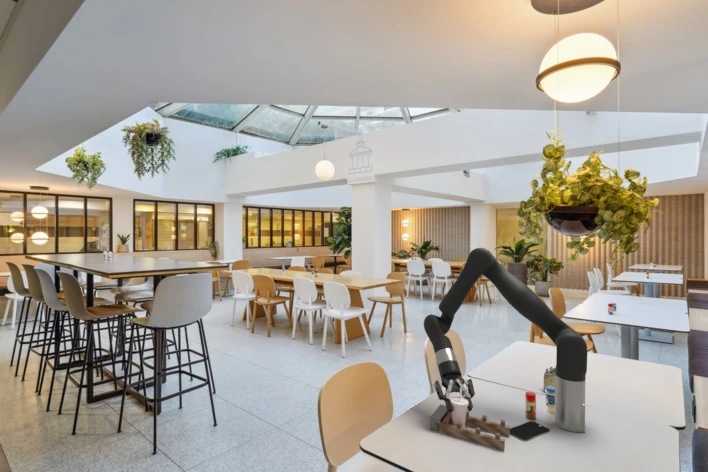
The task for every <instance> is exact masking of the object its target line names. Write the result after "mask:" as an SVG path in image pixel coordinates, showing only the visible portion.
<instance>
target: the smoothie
mask: <svg viewBox="0 0 708 472" xmlns="http://www.w3.org/2000/svg"><path fill="white" fill-rule="evenodd" d="M449 399H450V400H451V403H452V407H453V411H452V412H451V413H452V422H453V423H452V425H455V426H457V423H458V422H460V423H462V428H465V427H466V426H465V420H466V413H467V411H468V408H467V406H468V405H469V402H468V400H467V399H465V398H464V397H463V396H462V388H460V393H459V396H450V397H449ZM465 429H466V428H465Z"/></svg>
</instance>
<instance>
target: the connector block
mask: <svg viewBox="0 0 708 472" xmlns="http://www.w3.org/2000/svg"><path fill="white" fill-rule="evenodd" d="M448 412H449V411H448V410H447V407H446V404H440V405H439V406H438V407H437V408H436V409H435V411H433V413H432V414H431V415H430V417H429V419H430V420H429V421H430V422H429V430H430V431H433V432H436V431H435V427H436V426H437V425H440V423H441V422H442V420H443V419H444V418H445V416H446V415H447V414H448ZM435 423H436V426H435ZM437 423H438V424H437ZM437 428H438V427H437ZM438 429H439V428H438ZM438 431H439V430H438ZM438 433H440V432H438Z"/></svg>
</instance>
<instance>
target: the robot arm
mask: <svg viewBox="0 0 708 472" xmlns="http://www.w3.org/2000/svg"><path fill="white" fill-rule="evenodd" d="M482 276H483V277H485V278H487V280H489V281H490V282H491V283H492V284H493V286H494V287H495V288H496V290H498V292H499V293H500V295H501V296H502V297H503V299H504V300H505V301H507V303H508V304H509V305H510V306H511V307H512V308H514V309H515V311H517V312H518V313H519V314H520V315H521V316H522V317H524V318H525V319H527V320H528V322H531V323H532V324H534V325H535V326H537V327H538V328H539V329H540V330H542V331H543V332H544V333H545V334H546V335H547V337H548V338H549V339H550V340H551V342H553V343H554V346H556V357H555V358H556V363H555V367H554V368H555V392H554V424H555V425H556V426H557V427H558V428H560V429H562V430H565V431H567V432H568V431H569V432H574V433H586V375H587V372H588V371H587V370H588V344H587V342H586V341H585V339H584V336H582V334H580V333H579V332H578V331H576V330H575V329H574V328H573V327H571V326H570V325H568V324H567V323H566V322H564V321H563V320H562V319H560V318H559V317H558V316H557V315H556V314H555V312H553V311H552V310H551V308H550V307H549V306H548V305H547V304H546V303H545V302H544V301H543V300H542V298H541V297H540V296H539V295H537V293H535V291H533V290H532V289H531V288H530V287H529V286H528V285H527V284H525V283H524V282H523V281H522V280H520V279H519V278H518V277H516V276H515V275H513V273H512V272H510V271H509V270H507V269H506V268H505V267H504V266H503V265H502V263H501V262H499V261H498V260H497V258H496V257H495V256H494V255H493V253H492V252H491V251H490V250H489V249H486V248H485V247H476V248H474V249H473V250H471V251H470V252H469V254H468V256H467V259H466V261H465V263H464V266H463V269H462V270H461V272H460V274H459V276H458V277H457V278H456V280H455V282H453V284H452V285H451V287H450V288H449V290H448V291H447V292H446V294H445V295H444V297H443V298H442V300H441V301H440V303H438V304H439V305H438V309H439V311H440V312H441V314H440V316H438V315H435V314H428V315H426V317H425V318H424V319H423V328H424V331H425V333H426V336H427V337H428V339H429V341H430V343H431V345H432V348H433V351H434V356H435V361H436V365H437V369H438V373H439V377H440V380H435V382H434V383H433V386H434V390H435V392H436V394H437V397H438V400H440V401H444V403H445V406H446V407H447V410H448V411H449V412H452V411H453V407H452V403H451V400H450V398H451V393H452V394H453V393H458V394H460V388H462V397H463V398H465V399H467V400H468V402H469V405H468V406H467V411H469V412H472V410H473V408H474V405H473V402H472V399H473V397H474V396H475V395H476V394H475V393H476V392H475V387H474V384H473V383H474V382H473V380H472V378H469V379H464V378H463V376H462V372H461V368H460V366H459V362H458V361H459V360H458V359H457V355H456V353H455V351H454V347H453V345H452V342H451V339H450V338H449V337H448V336H447V333H448V332H449V331H450V329H451V327H452V324H453V322H454V318H455V315H456V313H457V312H458V310H459V309H460V308H461V307H462V304H463V303H464V302H465V300H466V298H467V296H468V295H469V293H470V292H471V289H472V288H473V286H474V285H475V283H476V282H477V281H478V280H479V279H480V277H482ZM442 386H443V388H445V392H443V389H442ZM465 386H466V387H467V388H466V387H465Z"/></svg>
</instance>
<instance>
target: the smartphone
mask: <svg viewBox="0 0 708 472" xmlns="http://www.w3.org/2000/svg"><path fill="white" fill-rule="evenodd" d="M550 432H551V429H550V428H549V427H546V426H544V425H542V424H541V423H538V422H535V421H532V420H531V421H528V422H525V423H522V424H519V425H516V426H514V427H510V436H512V437H514V438H515V439H517V440H519V441H521V442H523V443H524V442H525V443H526V442H529V441H532V440H534V439H535V438H538V437H541V436H544V435H545V434H548V433H550Z"/></svg>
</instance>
